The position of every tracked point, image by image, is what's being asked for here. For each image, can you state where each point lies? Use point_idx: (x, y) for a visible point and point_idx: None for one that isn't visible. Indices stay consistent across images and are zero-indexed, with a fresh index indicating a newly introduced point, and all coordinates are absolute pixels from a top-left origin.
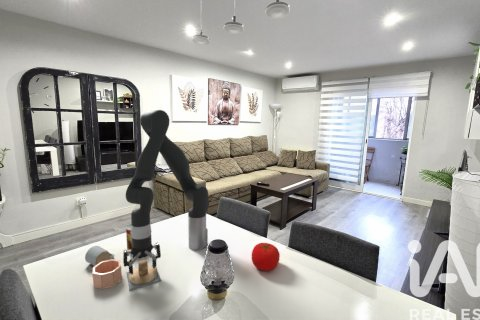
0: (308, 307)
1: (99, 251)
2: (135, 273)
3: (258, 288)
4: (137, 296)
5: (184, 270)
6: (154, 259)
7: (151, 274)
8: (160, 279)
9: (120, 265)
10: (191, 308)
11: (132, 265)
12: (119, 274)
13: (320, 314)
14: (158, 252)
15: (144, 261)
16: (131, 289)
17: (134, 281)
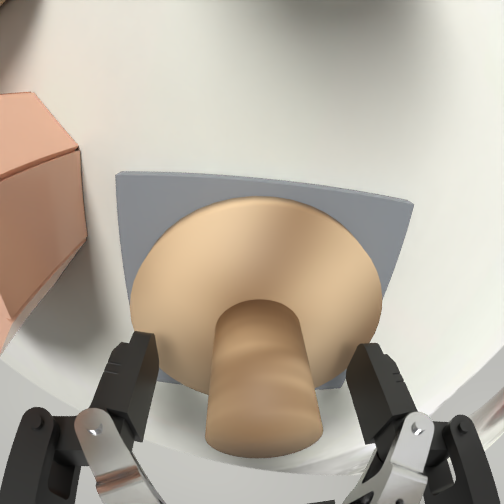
0: (449, 458)
1: None
2: (188, 299)
3: None
4: (190, 412)
5: (465, 343)
6: (378, 459)
7: (310, 367)
8: (338, 386)
9: (4, 312)
10: (331, 467)
11: (137, 434)
12: (47, 285)
13: None
14: (433, 498)
15: (290, 433)
16: (159, 378)
17: (174, 378)
